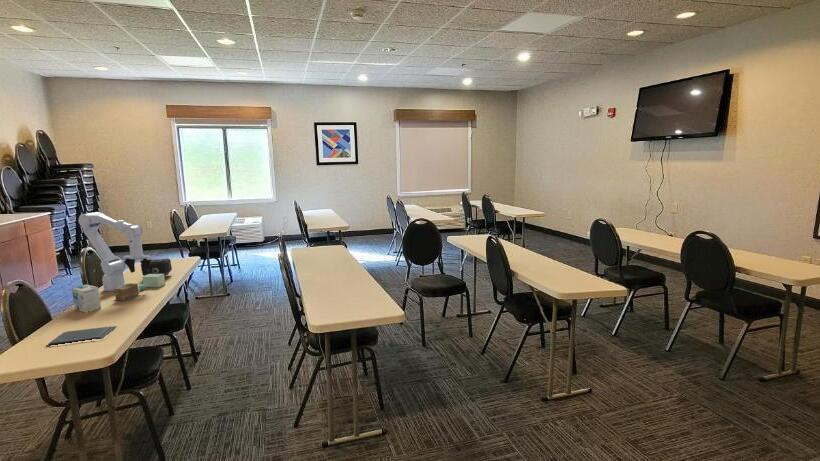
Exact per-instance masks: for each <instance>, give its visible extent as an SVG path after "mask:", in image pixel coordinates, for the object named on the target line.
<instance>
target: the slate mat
mask: <svg viewBox="0 0 820 461" xmlns="http://www.w3.org/2000/svg"><path fill="white" fill-rule="evenodd" d="M140 296H141V295H140V294H139V295H137V296H134V297H132V298H130V299H128V300H116V298H115V299H114V300H113V302H130V301H132V300H134V299H136V298H138V297H140Z"/></svg>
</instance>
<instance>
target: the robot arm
mask: <svg viewBox="0 0 820 461" xmlns="http://www.w3.org/2000/svg"><path fill="white" fill-rule="evenodd" d="M78 224H79V225H80V226H81V228H82V231H83V233H84V235H85V236H86V237H87V239H88V241H89V242H90V243H91V245H92V247H93V249H95V251H96V252H97V253H98V255H99V257H100V258H101V259H102V260H101V261H100V266H101V270H102V272H103V273H104V274H103V276H102V278H101V279H102V287H103V290H102V292H103V291H104V292H113V291H114V289H115V288H118V287H120V286H123V285H125V284H126V283H125V277H124V272H125V269H126V266H127V268H128V269H129V271H130V273H135V272H136V267H135V261H136V260H139V263H140V265H141V264H142V267H143V272H144V273H146V272H148V267H149V263H150V261H151V260H152V256H151V255H148V254H144V251H143V250H144V249H143V244H142V238H141V235H143V232H144V231H143V228H142V227H141V226H140V225H139V224H135V225H133V224H132V223H127V222H125V220H123V219H122V220H115V219H113V218H111V217H109V216H107V215H106V214H105V213H104V212H101V211H100V212H99V211H95V212H88V213H82V214H80V215H79V216H78ZM102 224H104V225H105V226H106V225H107V226H109V227H113V230H114V231H116V232H120V233H122V234H124V235H125V237H126V240H127V241H128V247H129V254H130V255H129V254H128V255H123V259H121V258H120V256H117V255H115V254H113V252H112V251H111V248H110V247H109V246H108V245H107V243H106V241H105V240H104V239H103V237H102V236H101V234H100V232H99V231H98V230H99V228H100V227H101V226H102ZM114 292H115V291H114Z"/></svg>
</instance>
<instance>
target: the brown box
mask: <svg viewBox="0 0 820 461" xmlns="http://www.w3.org/2000/svg"><path fill="white" fill-rule="evenodd" d="M138 287H139V286H138V283H125V285H123V286H120V287H118V288H115V289H114V296H115V299H116V300H128V299H130V298H132V297H134V296H137V295H140V290H139V291H138Z"/></svg>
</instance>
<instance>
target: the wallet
mask: <svg viewBox="0 0 820 461" xmlns="http://www.w3.org/2000/svg"><path fill="white" fill-rule="evenodd" d="M117 326H118V325H115V326H111V325H110V326H103V327H95V328H87V329H86V328H85V329H78V330H68V331H65V332H62V333H61V334H59V335H58V336H57V337H56V338H54V339H53V340H51V341H50V342H49V343H47V344H48V345H47V344H46V345H45V346H46V347H49V346H51V345H58V344H65V343H72V342H78V341H85V340H92V339H103V338H104V337H105V336H106V335H108V334H109V333H110V332H111V331H113V330H114V329H115V328H116V327H117ZM117 328H118V327H117ZM117 328H116V329H117ZM116 329H115V330H116ZM115 330H114V331H115ZM114 331H113V332H114ZM49 348H50V347H49Z"/></svg>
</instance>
